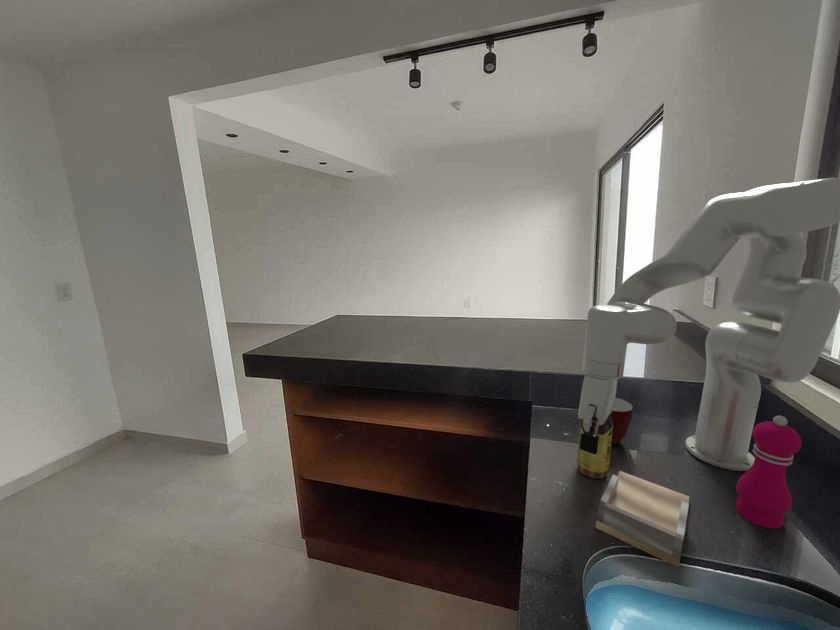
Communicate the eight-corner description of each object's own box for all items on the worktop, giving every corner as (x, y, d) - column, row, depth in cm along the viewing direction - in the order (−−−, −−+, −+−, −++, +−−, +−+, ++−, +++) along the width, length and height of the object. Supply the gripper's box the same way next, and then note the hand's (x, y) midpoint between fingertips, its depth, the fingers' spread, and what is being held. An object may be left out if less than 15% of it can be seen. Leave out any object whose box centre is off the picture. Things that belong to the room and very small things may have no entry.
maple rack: (619, 475, 76) (621, 456, 75) (688, 502, 68) (692, 480, 67) (595, 527, 63) (598, 504, 62) (678, 567, 55) (683, 542, 54)
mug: (577, 430, 93) (580, 395, 91) (600, 424, 96) (603, 390, 94) (611, 452, 84) (616, 414, 82) (635, 445, 87) (641, 407, 85)
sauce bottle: (611, 482, 74) (622, 394, 70) (579, 478, 75) (588, 392, 71) (602, 463, 80) (612, 381, 76) (573, 460, 81) (580, 379, 77)
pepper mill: (792, 538, 60) (820, 432, 56) (736, 520, 64) (758, 420, 59) (778, 510, 66) (803, 412, 62) (728, 496, 70) (748, 402, 65)
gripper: (595, 351, 81) (588, 419, 85) (570, 374, 68) (563, 452, 72) (632, 358, 76) (623, 430, 80) (613, 384, 63) (603, 467, 67)
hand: (594, 440), depth 76 cm, fingers open, 9 cm apart
